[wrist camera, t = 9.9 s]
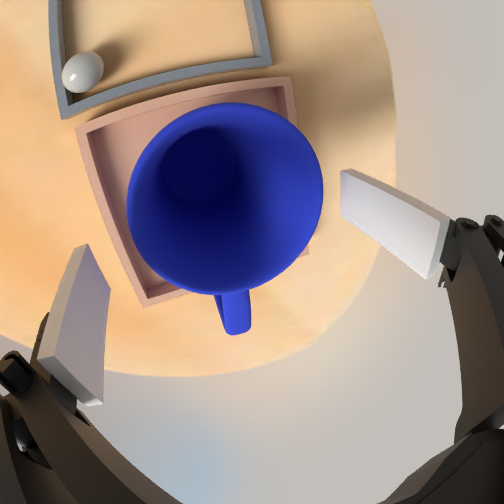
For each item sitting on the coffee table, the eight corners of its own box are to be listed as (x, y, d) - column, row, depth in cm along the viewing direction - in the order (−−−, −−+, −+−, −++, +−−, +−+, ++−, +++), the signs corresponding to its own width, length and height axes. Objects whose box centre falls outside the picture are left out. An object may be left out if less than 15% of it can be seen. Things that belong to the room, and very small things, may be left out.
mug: (161, 269, 22) (172, 364, 13) (134, 118, 16) (108, 120, 7) (255, 250, 24) (311, 327, 15) (249, 105, 18) (327, 103, 9)
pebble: (66, 65, 12) (53, 58, 9) (104, 50, 12) (96, 39, 10) (72, 100, 13) (58, 98, 11) (110, 85, 14) (102, 80, 12)
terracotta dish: (82, 126, 15) (74, 127, 13) (279, 78, 18) (291, 76, 16) (143, 293, 23) (143, 307, 21) (298, 244, 26) (308, 254, 24)
